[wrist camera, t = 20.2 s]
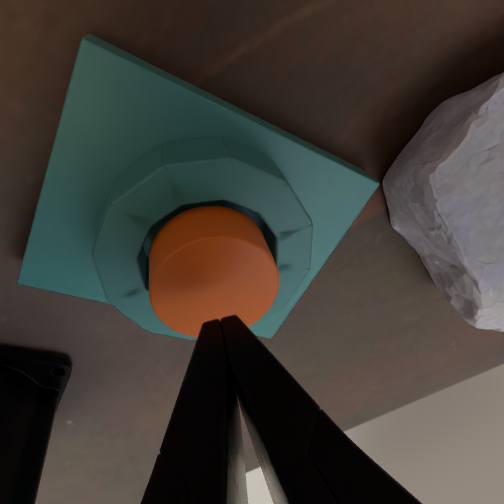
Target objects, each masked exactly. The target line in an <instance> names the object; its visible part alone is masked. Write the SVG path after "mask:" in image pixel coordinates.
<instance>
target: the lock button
mask: <svg viewBox="0 0 504 504" xmlns="http://www.w3.org/2000/svg"><path fill="white" fill-rule="evenodd" d="M278 289H279V272H278V268H277V265H276V263H275V261H274V259H273V256H272V254H271V252H270V250H269V247H268V245H267V243H266V241H265V238H264V236H263V234H262V232H261V230H260V228H259V227H258V225H257V224H256V223H255V222H254V221H253V220H252V219H251V218H249V217H248V216H247V215H245V214H243V213H242V212H239V211H237V210H235V209H231V208H228V207H223V206H201V207H196V208H192V209H189V210H186V211H184V212H182V213H180V214H178V215H176V216H175V217H173V218H172V219H170V220H169V221H168V222H167V223H166V224H165V225H164V226H163V227H162V228H161V229H160V230H159V231H158V233H157V234H156V236H155V238H154V240H153V242H152V245H151V247H150V253H149V299H150V303H151V306H152V309H153V310H154V312H155V314H156V315H157V317H158V318H159V319H160V320H161V321H162V322H163V323H164V324H165V325H166V326H168V327H169V328H171V329H172V330H174V331H176V332H179V333H181V334H184V335H188V336H192V337H198V335H199V332H200V329H201V326H202V324H203V323H204V322H206V321H210V320H214V319H219V320H221V318H222V317H226V316H230V315H237V316H238V317H239V318H240V319H241V320H242V321H243V322H244V323H245V324H246V325H247V327H249V326H251V325H252V324H254V323H255V322H257V321H258V320H259V319H260V318H261V317H262V316H263V315H264V314H265V313H266V312H267V311H268V310H269V308H270V307H271V306H272V304H273V302H274V300H275V298H276V296H277V293H278ZM220 322H221V321H220Z"/></svg>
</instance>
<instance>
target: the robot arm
mask: <svg viewBox="0 0 504 504" xmlns="http://www.w3.org/2000/svg"><path fill="white" fill-rule="evenodd" d="M220 321H221V322H220ZM72 365H73V364H72V362H71V361H70V360H69V359H68V358H64V357H59V356H52V355H45V354H39V353H32V352H26V351H19V350H12V349H6V348H0V504H35V502H36V497H37V493H38V488H39V484H40V479H41V475H42V470H43V466H44V462H45V457H46V453H47V448H48V444H49V439H50V435H51V430H52V426H53V422H54V417H55V413H56V410H57V408H58V405H59V403H60V400H61V397H62V395H63V392H64V390H65V387H66V385H67V382H68V380H69V377H70V375H71V371H72ZM57 368H60V369H57ZM237 397H238V398H237ZM238 401H239V404H238ZM239 405H240V408H241V411H242V414H243V417H244V420H245V423H246V426H247V429H248V432H249V434H250V437H251V440H252V443H253V446H254V449H255V452H256V454H257V457H258V460H259V463H260V466H261V469H262V471H263V474H264V477H265V480H266V483H267V486H268V489H269V491H270V494H271V497H272V500H273V503H274V504H422V503H421V502H420V501H418V499H416V498H415V497H414V496H413V495H412V494H411V493H410V492H408V491H407V490H406V489H405V488H404V487H403V486H402V485H400V484H399V483H398V482H397V481H396V480H395V479H393V478H392V477H391V476H390V475H389V474H388V473H387V472H386V471H385V470H383V469H382V468H381V467H380V466H379V465H378V464H377V463H375V462H374V461H373V460H372V459H371V458H370V457H369V456H367V454H365V453H364V452H363V451H362V450H361V449H360V448H359V447H358V446H357V445H356V444H355V443H354V442H353V441H351V440H350V438H348V437H347V435H346V434H345V433H344V432H343V431H342V430H341V429H340V428H339V427H338V426H337V425H336V424H335V423H334V422H333V421H332V420H331V418H330V417H329V416H328V415H327V414H326V413H325V412H324V411H323V410H322V409H320V407H319V405H318V404H317V403H316V402H315V401H314V400H313V399H312V398H311V397H310V395H309V394H308V393H307V392H306V391H305V390H304V389H303V388H302V387H301V385H300V384H299V383H298V382H297V381H296V380H295V379H294V378H293V377H292V375H291V374H290V373H289V372H288V371H287V370H286V369H285V368H284V367H283V365H282V364H281V363H280V362H279V361H278V360H277V359H276V358H275V357H274V355H273V354H272V353H271V352H270V351H269V350H268V349H267V348H266V347H265V345H264V344H263V343H262V342H261V341H260V340H259V339H258V338H257V337H256V335H255V334H254V333H253V332H252V331H251V330H250V329H249V328H248V327H247V325H246V324H245V323H244V322H243V321H242V320H241V319H240V318H239V317H238V316H237V315H230V316H226V317H222V318H221V320H219V319H214V320H210V321H206V322H204V323H203V324H202V326H201V329H200V332H199V335H198V338H197V341H196V344H195V347H194V350H193V353H192V356H191V359H190V362H189V365H188V368H187V371H186V374H185V377H184V380H183V383H182V386H181V389H180V392H179V394H178V397H177V400H176V403H175V406H174V409H173V412H172V415H171V418H170V421H169V424H168V427H167V430H166V433H165V436H164V439H163V442H162V445H161V448H160V453H161V454H158V456H157V459H156V462H155V465H154V468H153V471H152V474H151V477H150V479H149V482H148V485H147V487H146V490H145V493H144V496H143V498H142V501H141V503H140V504H248V497H247V486H246V476H245V464H244V453H243V442H242V431H241V420H240V411H239Z"/></svg>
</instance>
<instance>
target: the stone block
mask: <svg viewBox="0 0 504 504" xmlns="http://www.w3.org/2000/svg"><path fill="white" fill-rule="evenodd" d="M382 183H383V191H384V194H385V196H386V200H387V205H388V209H389V214H390V223H391V226H392V228H394V229H395V230H396V231H397V232H398V233H400V234H401V235H402V236H403V237H404V238H405V239H406V241H407V242H408V244H409V245H411V246H413V248H414V249H415V250H416V251H417V253H418V254H419V255H420V258H421V261H422V262H423V264H424V266H425V267H426V269H427V270H428V272H429V274H430V276H431V278H432V280H433V281H434V283H435V284H436V286H437V288H438V290H439V291H441V292H442V293H443V294H444V295H445V297H446V299H447V300H448V301H449V302H450V304H451V305H452V306H453V308H454V309H456V310H457V311H458V312H459V313H460V314H461V316H462V317H463V319H464V320H465V321H466V322H467V323H469V324H470V325H473V326H475V327H476V328H481V329H494V330H495V331H503V332H504V72H503V73H501V74H499V75H496V76H494V77H492V78H491V79H489V80H487V81H486V82H484V83H482V84H480V85H479V86H477V87H475V88H474V89H472V90H469V91H467V92H464V93H461V94H458V95H456V96H453V97H451V98H449V99H447V100H445V101H443V102H442V103H441V104H440V105H439V106H438V107H437V108H435V109H434V110H433V111H432V112H431V113H430V114H429V116H428V117H427V118H426V119H425V120H424V123H423V125H422V126H421V128H420V129H419V131H418V132H417V133H416V134H415V136H414V137H413V138H412V139H411V140H410V141H409V143H408V144H407V145H406V146H405V148H404V149H403V150H402V152H401V153H400V154H399V155H398V157H397V158H396V160H395V161H394V162H393V164H392V165H391V167H390V168H389V170H388V171H387V173H386V175H385V177H384V179H383V182H382Z"/></svg>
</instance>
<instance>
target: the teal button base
mask: <svg viewBox="0 0 504 504" xmlns="http://www.w3.org/2000/svg"><path fill="white" fill-rule="evenodd" d="M378 186H379V182H378V181H377V180H375V179H374V178H373V177H372V176H371V175H370V174H368V173H367V172H366V171H365V170H363V169H361V168H359V167H357V166H355V165H353V164H351V163H349V162H347V161H345V160H343V159H341V158H339V157H337V156H335V155H333V154H331V153H329V152H327V151H325V150H323V149H321V148H319V147H317V146H315V145H313V144H311V143H309V142H307V141H305V140H303V139H301V138H299V137H297V136H295V135H293V134H291V133H289V132H287V131H285V130H283V129H281V128H279V127H277V126H275V125H273V124H271V123H269V122H267V121H265V120H263V119H261V118H259V117H257V116H255V115H253V114H250V113H248V112H246V111H244V110H242V109H240V108H238V107H236V106H234V105H232V104H230V103H228V102H226V101H224V100H222V99H220V98H218V97H216V96H214V95H212V94H210V93H208V92H206V91H204V90H202V89H200V88H198V87H196V86H194V85H192V84H190V83H188V82H186V81H184V80H182V79H180V78H178V77H176V76H174V75H172V74H170V73H168V72H166V71H164V70H162V69H160V68H158V67H156V66H154V65H152V64H150V63H148V62H146V61H144V60H142V59H140V58H138V57H136V56H134V55H132V54H130V53H128V52H126V51H124V50H122V49H120V48H118V47H116V46H114V45H112V44H110V43H108V42H106V41H104V40H102V39H100V38H98V37H96V36H94V35H92V34H87V35H86V36H84V37H83V38H82V39H81V42H80V45H79V49H78V53H77V57H76V61H75V64H74V68H73V72H72V76H71V79H70V83H69V87H68V91H67V95H66V98H65V102H64V106H63V110H62V113H61V117H60V121H59V125H58V129H57V132H56V136H55V140H54V144H53V148H52V151H51V155H50V159H49V163H48V166H47V170H46V174H45V178H44V182H43V185H42V189H41V193H40V197H39V201H38V204H37V208H36V212H35V216H34V219H33V223H32V227H31V231H30V235H29V238H28V242H27V246H26V250H25V254H24V257H23V261H22V265H21V269H20V272H19V276H18V280H17V283H18V284H21V285H26V286H30V287H35V288H39V289H44V290H49V291H53V292H58V293H62V294H67V295H72V296H76V297H81V298H86V299H90V300H95V301H99V302H104V303H109V304H111V305H112V306H114V307H115V308H116V309H117V310H119V311H120V312H121V313H123V314H124V315H125V316H127V317H128V318H129V319H131V320H132V321H133V322H135V323H136V324H137V325H139V326H140V327H141V328H143V329H144V330H147V331H148V332H153V333H158V334H163V335H168V336H173V337H178V338H183V339H189V340H196V341H197V338H198V337H192V336H188V335H184V334H181V333H179V332H176V331H174V330H172V329H171V328H169V327H168V326H166V325H165V324H164V323H163V322H162V321H161V320H160V319H159V318H158V317H157V315H156V314H155V312H154V310H153V309H152V306H151V303H150V299H149V253H150V247H151V245H152V242H153V240H154V238H155V236H156V234H157V233H158V231H159V230H160V229H161V228H162V227H163V226H164V225H165V224H166V223H167V222H168V221H169V220H170V219H172V218H173V217H175V216H176V215H178V214H180V213H182V212H184V211H186V210H189V209H192V208H196V207H201V206H223V207H228V208H231V209H235V210H237V211H239V212H242V213H243V214H245V215H247V216H248V217H249V218H251V219H252V220H253V221H254V222H255V223H256V224H257V225H258V227H259V228H260V230H261V232H262V234H263V236H264V238H265V241H266V243H267V245H268V247H269V250H270V252H271V254H272V256H273V259H274V261H275V263H276V265H277V268H278V272H279V289H278V293H277V296H276V298H275V300H274V302H273V304H272V306H271V307H270V308H269V310H268V311H267V312H266V313H265V314H264V315H263V316H262V317H261V318H260V319H259V320H258V321H257V322H255V323H254V324H252V325H251V326H249V327H248V328H249V329H250V330H251V331H252V332H253V333H254V334H255V335H256V336H261V337H265V338H270V339H271V338H272V337H273V335H274V334H275V333H276V331H277V330H278V328H279V327H280V325H281V324H282V323H283V321H284V320H285V318H286V317H287V315H288V314H289V313H290V311H291V310H292V308H293V307H294V305H295V304H296V303H297V301H298V300H299V298H300V297H301V296H302V294H303V293H304V291H305V290H306V288H307V287H308V286H309V284H310V283H311V281H312V280H313V278H314V277H315V276H316V274H317V273H318V271H319V270H320V268H321V267H322V266H323V264H324V263H325V261H326V260H327V258H328V257H329V256H330V254H331V253H332V251H333V250H334V249H335V247H336V246H337V244H338V243H339V241H340V240H341V239H342V237H343V236H344V234H345V233H346V231H347V230H348V229H349V227H350V226H351V224H352V223H353V221H354V220H355V219H356V217H357V216H358V214H359V213H360V211H361V210H362V209H363V207H364V206H365V204H366V203H367V201H368V200H369V199H370V197H371V196H372V194H373V193H374V192H375V190H376V189H377V187H378Z"/></svg>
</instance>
